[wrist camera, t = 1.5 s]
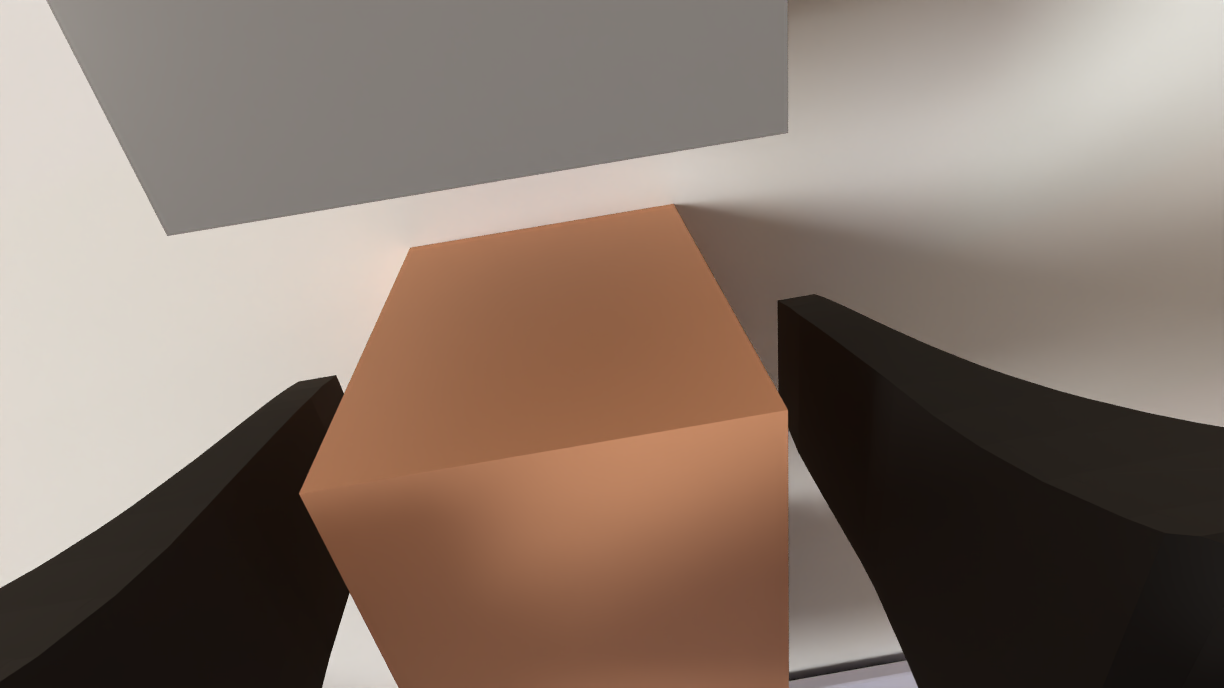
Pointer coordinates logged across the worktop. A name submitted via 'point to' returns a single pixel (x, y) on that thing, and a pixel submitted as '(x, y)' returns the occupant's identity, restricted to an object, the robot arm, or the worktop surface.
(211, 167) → the charcoal block
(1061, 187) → the worktop surface
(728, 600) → the terracotta block
